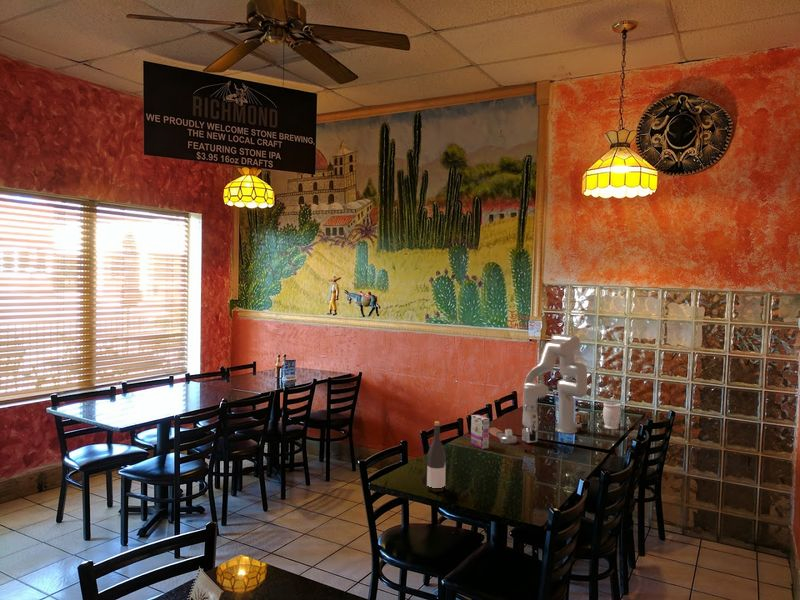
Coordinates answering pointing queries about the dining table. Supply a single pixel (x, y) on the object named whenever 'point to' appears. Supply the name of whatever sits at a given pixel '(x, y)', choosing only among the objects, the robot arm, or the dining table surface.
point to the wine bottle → (436, 461)
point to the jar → (611, 415)
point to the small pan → (504, 435)
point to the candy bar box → (480, 431)
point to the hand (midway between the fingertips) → (529, 438)
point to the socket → (527, 435)
